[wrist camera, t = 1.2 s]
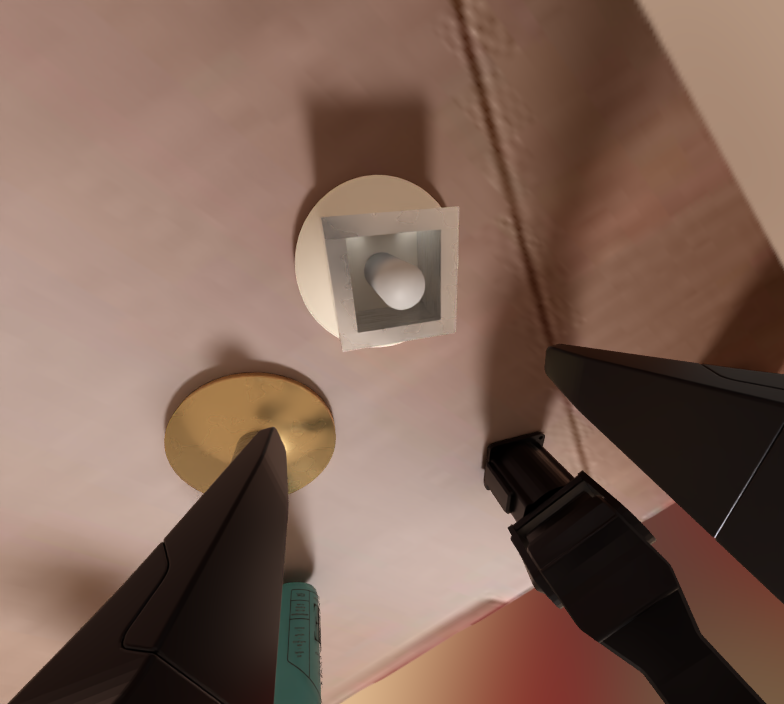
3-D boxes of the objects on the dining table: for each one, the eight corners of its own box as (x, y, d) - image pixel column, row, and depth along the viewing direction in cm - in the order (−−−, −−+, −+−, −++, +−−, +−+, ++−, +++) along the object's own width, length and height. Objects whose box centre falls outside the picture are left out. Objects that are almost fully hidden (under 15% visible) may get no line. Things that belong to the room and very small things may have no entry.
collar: (430, 208, 18) (459, 206, 15) (431, 313, 21) (455, 332, 18) (318, 217, 17) (321, 217, 13) (337, 328, 20) (342, 351, 16)
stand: (455, 172, 19) (509, 154, 13) (451, 331, 23) (491, 362, 18) (276, 181, 16) (261, 164, 11) (313, 354, 21) (313, 397, 16)
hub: (321, 359, 22) (324, 404, 16) (344, 473, 27) (352, 536, 21) (139, 390, 19) (73, 455, 14) (203, 509, 24) (173, 589, 19)
